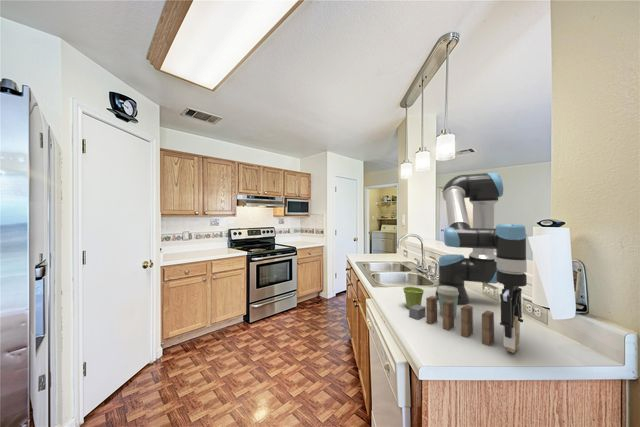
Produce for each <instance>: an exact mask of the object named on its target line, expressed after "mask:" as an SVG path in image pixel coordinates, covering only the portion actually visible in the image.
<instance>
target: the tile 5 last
mask: <svg viewBox="0 0 640 427" xmlns="http://www.w3.org/2000/svg"><path fill="white" fill-rule="evenodd" d="M425 300H426V301H425V302H426V303H425V304H426V306H425V317H426V324H428V325H434V324H435V323H438V299H437V297H435V296H434V295H431V296H429V297H426V299H425Z"/></svg>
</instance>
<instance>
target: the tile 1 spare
mask: <svg viewBox="0 0 640 427" xmlns="http://www.w3.org/2000/svg"><path fill="white" fill-rule="evenodd" d="M518 322H519V321H518V316H514V328H515V350H514V349H511V348H509V347H506V346H505V351H508V352H510V353H513V354H514V353H515V352H516V351H517V350H518V349H519V343H518Z"/></svg>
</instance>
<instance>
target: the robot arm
mask: <svg viewBox="0 0 640 427" xmlns="http://www.w3.org/2000/svg"><path fill="white" fill-rule="evenodd" d="M503 183H504V182H503V179H502V178H501V176H500V174H498V173H497V172H485V173H483V172H481V173H472V174H459V175H457V176H454V177H453V178H451V179H450V180H448V182H446V184H445V185H444V187H443V188H442V198H443V200H444V201H445V207H446V215H447V223H448V224H447V225H448V227H445V228H444V231H443V232H444V233H443V240H444V242H443V243H444V245H445V247H450V248H457V249H458V248H459V249H460V248H464V249H465V248H466V249H472V252H470V253H469V254H468V257H465V255H464V254H457V253H454V254H444V255H440V257H439V258H438V285H437V288H436V290H435V297H437V301H439V298H438V292H437V289H438V287H439V286H451V287H455V288H457V289H458V292H459V295H458V302H457V306H458V305H459V306H460V305H461V306H463V305H468V304H469V301H470V300H469V296H468V292H467V290H466V287H465V282H474V283H483V284H494V285H495V284H497V283H499V284H502V285H503V288H502V289H501V293H499V298H500V322H499V325H500V326H503V327H502V328H503V330H502V332H503V336H502V337H503V347H505V348H506V347H509V348H511V349H514V350H515V328H514V316H518V344H521V323H523V322H524V319H523V318H522V317H523V315H522V314H523V313H522V308H523V307H522V291H523V290H522V288H523V287H526V286H527V284H528V282H527V279H528V278H527V274H526V273H527V271H528V269H527V265H528V264H527V237H528V236H527V235H528V234H527V233H526V226H525V225H524V224H522V223H518V224H517V223H497V224H496V226H495V204H497V202H499V198H502V197H503V195H504V185H503ZM465 199H468V200H469V203H470V204H471V205H472V227H471V223H470V220H469V215H468V211H467V206H466V202H465ZM494 250H495V253H496V254H495V253H494ZM521 287H522V288H521Z"/></svg>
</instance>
